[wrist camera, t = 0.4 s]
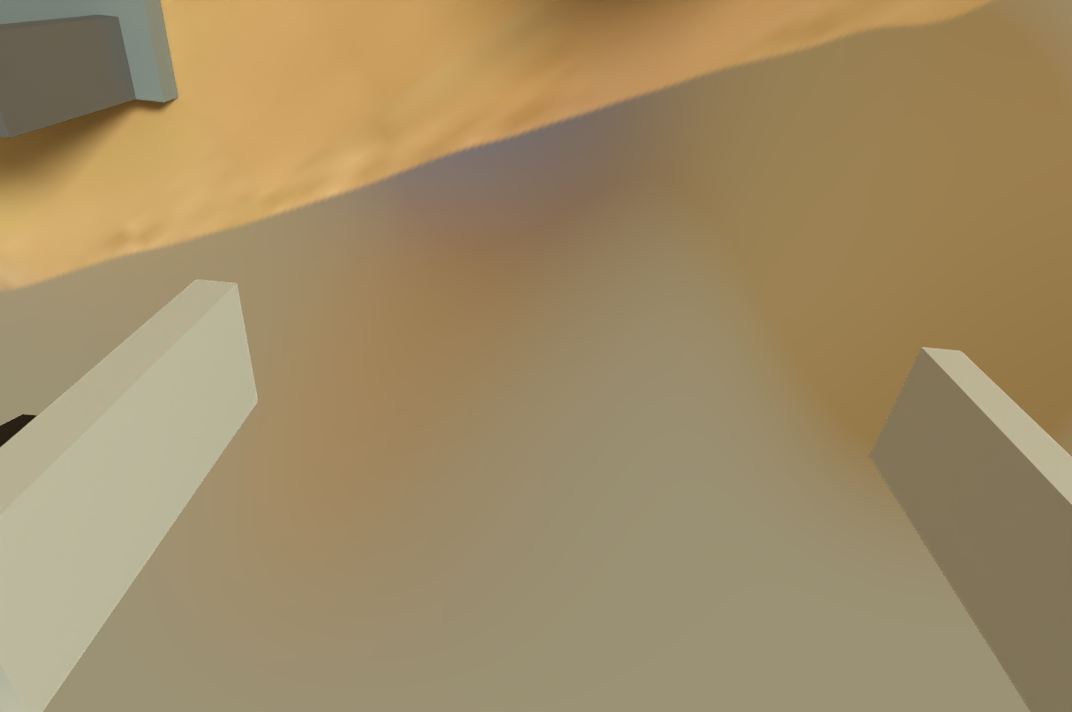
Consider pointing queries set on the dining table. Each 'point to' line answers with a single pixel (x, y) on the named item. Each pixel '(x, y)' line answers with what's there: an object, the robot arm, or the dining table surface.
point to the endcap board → (79, 59)
